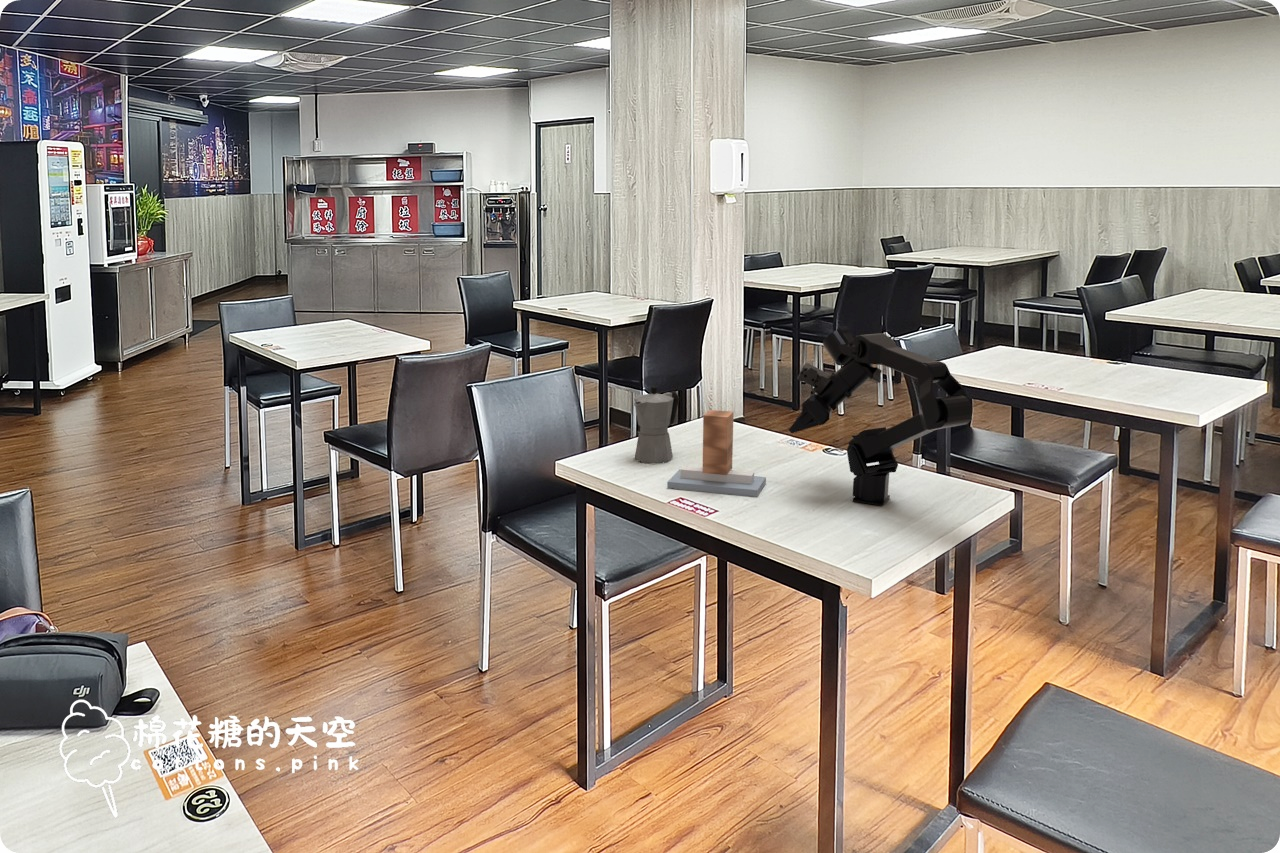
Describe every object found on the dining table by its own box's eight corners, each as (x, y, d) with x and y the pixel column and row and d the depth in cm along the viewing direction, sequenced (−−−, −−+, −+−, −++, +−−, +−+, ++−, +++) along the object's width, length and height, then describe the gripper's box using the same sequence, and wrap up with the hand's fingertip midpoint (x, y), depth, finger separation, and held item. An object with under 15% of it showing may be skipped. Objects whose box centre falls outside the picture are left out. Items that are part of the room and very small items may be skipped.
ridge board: (765, 483, 225) (766, 468, 224) (756, 496, 216) (757, 481, 215) (679, 475, 231) (679, 460, 230) (667, 488, 222) (667, 473, 221)
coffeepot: (649, 468, 237) (649, 393, 232) (620, 460, 243) (620, 387, 239) (692, 455, 248) (693, 383, 243) (663, 448, 254) (664, 378, 250)
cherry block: (732, 468, 224) (733, 411, 221) (726, 475, 219) (727, 417, 216) (708, 466, 226) (709, 409, 223) (702, 472, 221) (703, 415, 218)
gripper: (827, 345, 223) (776, 390, 229) (815, 359, 206) (760, 408, 212) (861, 382, 223) (809, 426, 229) (852, 400, 206) (796, 447, 211)
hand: (793, 426), depth 220 cm, fingers open, 9 cm apart
